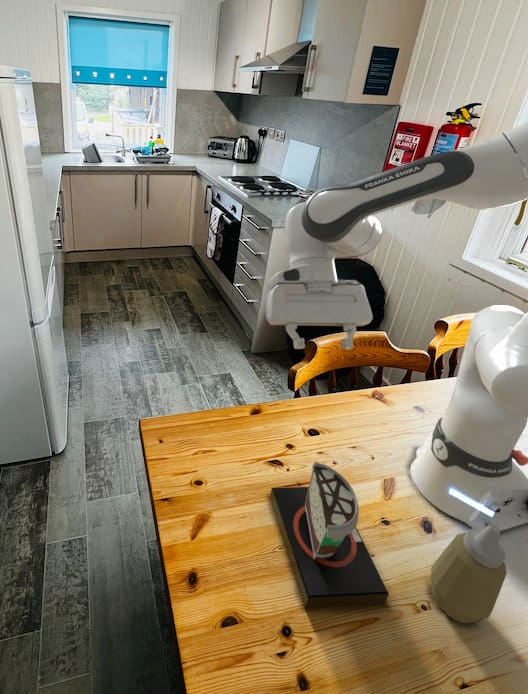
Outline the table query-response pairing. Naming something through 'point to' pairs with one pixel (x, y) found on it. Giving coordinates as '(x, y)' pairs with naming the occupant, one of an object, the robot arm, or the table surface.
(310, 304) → the robot arm
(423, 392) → the table surface
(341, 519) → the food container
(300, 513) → the hob
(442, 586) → the squeeze bottle
